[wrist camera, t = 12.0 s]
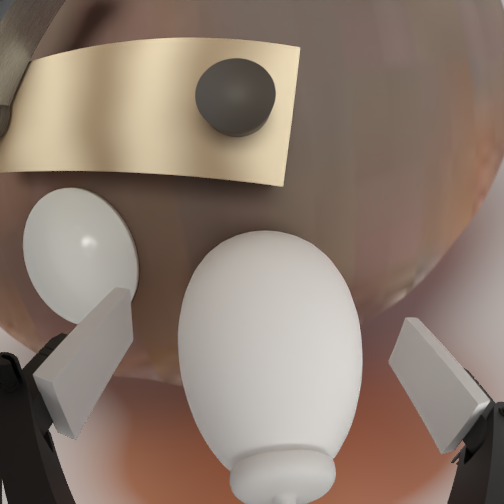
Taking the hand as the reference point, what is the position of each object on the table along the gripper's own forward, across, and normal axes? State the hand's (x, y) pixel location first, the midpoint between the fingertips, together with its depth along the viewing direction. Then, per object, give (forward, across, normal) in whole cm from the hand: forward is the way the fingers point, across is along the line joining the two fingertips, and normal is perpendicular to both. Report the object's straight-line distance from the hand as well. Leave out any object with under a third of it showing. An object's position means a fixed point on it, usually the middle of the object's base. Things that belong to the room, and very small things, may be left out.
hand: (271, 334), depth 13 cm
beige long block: (+7, -10, +10) cm, 16 cm away
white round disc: (+7, -14, -1) cm, 16 cm away
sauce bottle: (+8, 0, 0) cm, 8 cm away
